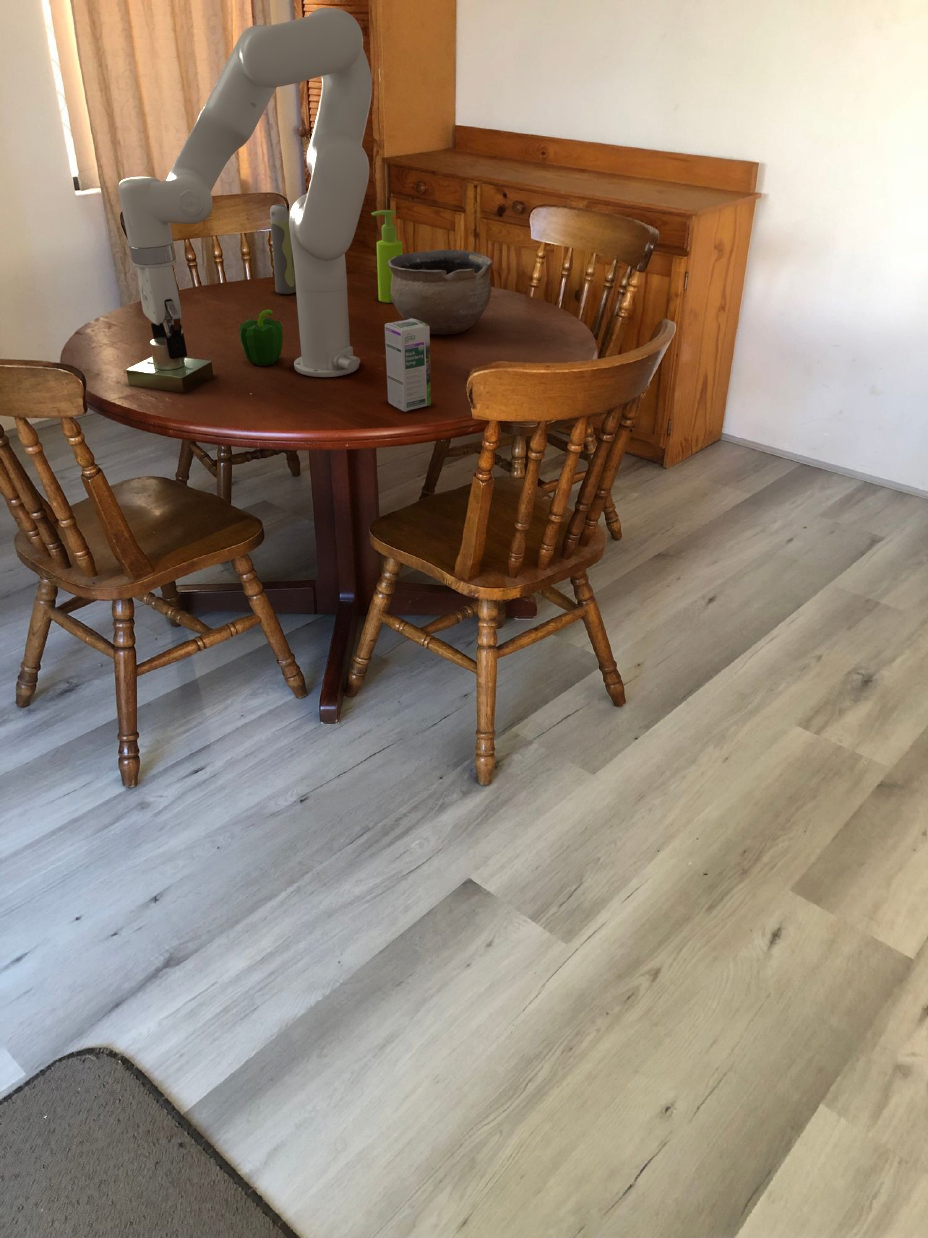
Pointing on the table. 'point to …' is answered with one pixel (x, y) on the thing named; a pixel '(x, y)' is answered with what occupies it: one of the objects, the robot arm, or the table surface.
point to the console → (170, 375)
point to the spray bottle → (282, 250)
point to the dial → (163, 355)
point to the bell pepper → (262, 339)
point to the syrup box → (408, 364)
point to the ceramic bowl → (441, 288)
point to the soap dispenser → (386, 255)
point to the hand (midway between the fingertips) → (170, 350)
